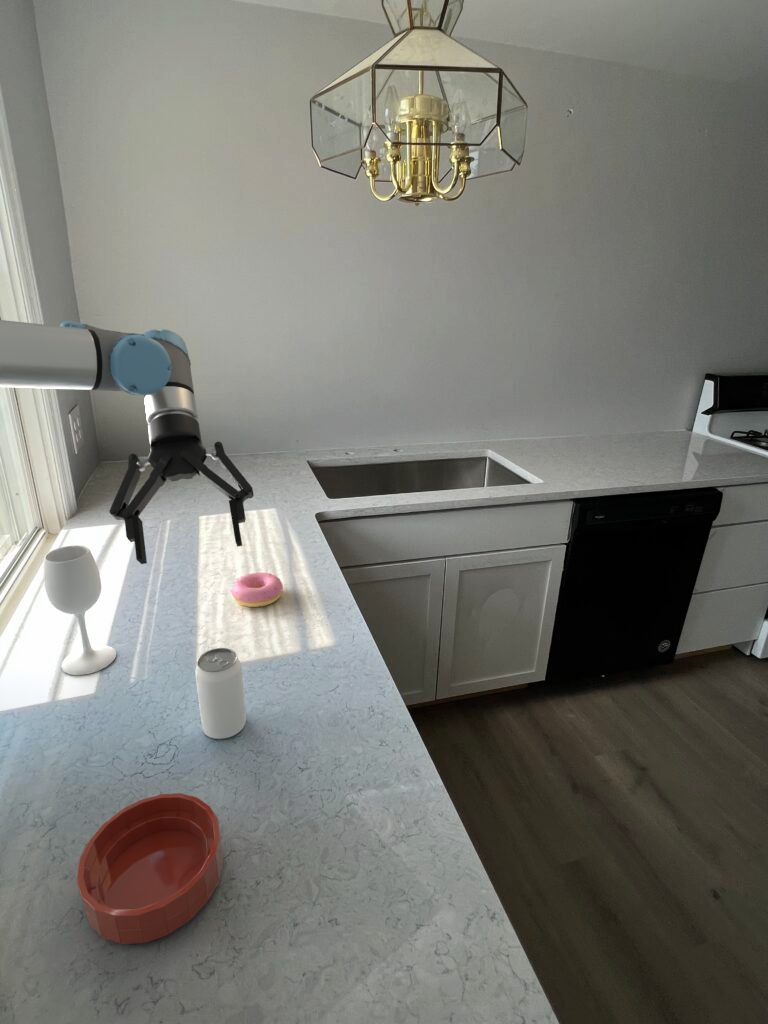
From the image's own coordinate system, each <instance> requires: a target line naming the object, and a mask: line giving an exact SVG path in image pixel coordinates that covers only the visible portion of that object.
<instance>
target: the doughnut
mask: <svg viewBox="0 0 768 1024" xmlns="http://www.w3.org/2000/svg"><path fill="white" fill-rule="evenodd" d="M283 590H284V585H283V582H282V581H281V578H279V577H278V576H277V575H275V574H272V573H268V572H253V573H246V574H245V575H243V576H240V577H239V578H236V580H235V581H234V582H233V585H232V587H231V590H230V592H231V595H232V599H233V600H234V601H235V602H236V603H237V604H239V605H241V606H244V607H248V608H259V606H260V607H265V606H268V605H272V604H273V603H274V602H276V601H278V599H280V597H281V596H282V594H283Z"/></svg>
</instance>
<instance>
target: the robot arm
mask: <svg viewBox="0 0 768 1024" xmlns="http://www.w3.org/2000/svg"><path fill="white" fill-rule="evenodd" d="M191 365H192V364H191V359H190V356H189V351H188V348H187V345H186V342H185V340H184V338H183V337H181V336H180V335H179V333H177V332H175V331H172V330H169V329H161V330H158V329H155V328H154V329H150V330H147V331H145V332H143V333H135V332H134V333H133V332H122V331H115V330H110V329H104V328H100V327H95V326H92V325H89V324H87V323H80V322H75V321H71V320H66V321H65V320H64V321H62V322H61V323H60V324H59V325H53V324H52V325H51V324H45V323H44V324H43V323H34V322H24V321H14V320H5V319H0V387H1V388H23V389H24V388H26V389H27V388H28V389H53V390H55V389H56V390H57V389H58V390H87V391H102V392H123V393H124V392H125V393H127V394H129V395H133V396H143V399H144V406H145V414H146V416H145V417H146V422H147V429H148V430H147V431H148V440H149V447H150V452H149V454H148V455H142V456H139V455H137V454H135V453H130V454H129V455H128V458H127V459H128V461H127V470H126V471H125V474H124V476H123V479H122V481H121V483H120V486H119V488H118V490H117V492H116V494H115V497H114V499H113V501H112V503H111V506H110V509H109V511H108V512H109V514H110V515H111V516H112V517H113V518H114V519H115V520H116V521H124V529H125V537H126V538H127V540H128V541H129V542H130V543H133V542H134V548H135V549H134V551H135V559H136V561H137V562H139V563H140V564H141V565H145V564H147V563H148V561H147V560H148V559H147V551H146V543H145V534H144V525H143V524H144V523H143V520H142V519H141V518H140V517H139V516H140V515H141V514H142V513H143V511H144V510H145V508H146V507H147V506H148V505H149V503H150V501H151V500H152V499H153V498H154V496H155V494H157V492H158V490H159V489H160V488H161V487H163V486H164V485H165V484H166V482H167V481H170V482H177V481H180V480H191V479H193V478H194V477H195V476H198V477H200V479H202V480H204V481H206V482H207V483H209V484H210V485H211V486H213V487H214V488H215V489H216V490H218V492H220V493H221V494H222V495H224V496H225V497H227V498H228V499H229V500H228V504H229V511H230V517H231V522H232V523H231V524H232V529H233V535H234V536H233V537H234V541H235V544H236V547H237V548H238V547H242V546H243V542H242V535H241V528H240V524H243V523H246V519H247V518H246V513H245V507H244V503H245V501H246V500H248V499H252V498H254V495H255V494H254V493H255V492H254V489H253V486H252V485H251V484H250V482H249V481H248V480H247V479H246V478H245V477H244V475H243V474H242V472H241V471H240V470H239V469H238V468H237V466H236V465H235V463H233V462H232V460H231V458H230V457H229V456H228V455H227V454H226V452H225V449H224V445H223V443H222V442H221V441H215V442H214V445H211V446H207V447H204V445H203V442H202V434H201V428H200V423H199V421H198V420H199V415H198V409H197V403H196V396H195V391H194V390H195V389H194V383H193V376H192V369H191ZM208 457H211V458H212V459H213V460H214V461H218V462H219V464H220V465H221V467H222V468H223V469H224V471H225V472H226V473H227V474H228V476H229V477H230V479H232V481H233V482H234V484H236V486H237V487H238V489H239V490H238V489H236V488H235V487H234V486H232V485H231V484H230V483H228V482H227V481H226V480H225V479H223V477H221V476H219V475H218V474H216V473H215V472H214V471H213V470H212V469H210V468H209V467H208V466H207V465H206V464H205V461H206V460H207V458H208ZM149 465H150V466H151V467H152V468H153V469H152V471H150V473H149V477H148V478H147V479H146V481H145V482H144V484H143V485H142V486H141V488H139V490H138V491H137V493H136V494H135V495H134V492H135V490H136V488H137V486H138V483H139V481H140V479H141V475H142V472H144V471H145V470H146V467H147V466H149ZM133 495H134V497H133ZM132 497H133V498H132Z"/></svg>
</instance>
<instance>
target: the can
mask: <svg viewBox="0 0 768 1024" xmlns="http://www.w3.org/2000/svg"><path fill="white" fill-rule="evenodd" d="M194 674H195V675H194V676H195V685H196V691H197V699H198V706H199V714H200V722H201V723H200V724H201V728H202V732H203V734H205V736H207V737H208V738H211V739H214V740H227V739H229V738H232V737H235V736H236V735H237V734H239V733H240V732H241V731H242V730H243V728H244V727H246V726H245V725H246V722H247V715H246V713H247V712H246V702H245V691H244V679H243V670H242V663H241V661H240V659H239V658H238V654H237V653H236V651H235V650H233V649H231V648H227V647H218V648H217V647H216V648H211V649H209V650H207V651H205V652H203V653H202V654H201V655H199V656H198V658H197V660H196V667H195V671H194Z"/></svg>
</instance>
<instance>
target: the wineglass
mask: <svg viewBox="0 0 768 1024" xmlns="http://www.w3.org/2000/svg"><path fill="white" fill-rule="evenodd" d="M43 583H44V589H45V592H46V596H47V598H48V601H49V602H50V604H51V605H52V607H54V608H55V609H56V610H58V611H60V612H61V613H64V614H68V615H73V616H74V617H75V618H76V620H77V623H78V627H79V631H80V632H79V633H80V637H81V644H82V647H81V648H79V649H76V650H75V651H73V652H71V653H70V654H68V655H67V656H66V657H65V658H64V660H63V661H62V662H61V670H62V671H63V672H64V673H66V674H68V675H72V676H83V675H89V674H93V673H96V672H99V671H101V670H103V669H105V668H106V667H108V666H109V665H111V664H112V663H113V662H114V660H115V659H116V656H117V651H116V649H115V648H114V647H112V646H110V645H106V644H92V645H91V642H90V639H89V635H88V631H87V626H86V618H85V617H86V612H87V611H88V610H90V609H91V608H92V607H94V605H96V603H97V602H98V600H99V598H100V596H101V593H102V581H101V575H100V571H99V568H98V565H97V562H96V560H95V558H94V556H93V553H92V551H91V550H90V548H89V547H87V546H84V545H68V546H67V545H66V546H61V547H57V548H56V549H53V550H51V551H49V552H47V553H46V555H45V556H44V557H43Z"/></svg>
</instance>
